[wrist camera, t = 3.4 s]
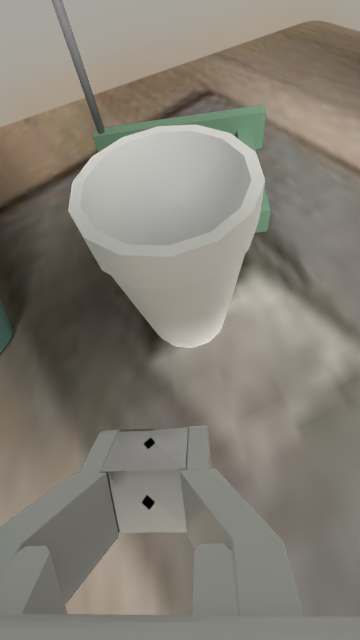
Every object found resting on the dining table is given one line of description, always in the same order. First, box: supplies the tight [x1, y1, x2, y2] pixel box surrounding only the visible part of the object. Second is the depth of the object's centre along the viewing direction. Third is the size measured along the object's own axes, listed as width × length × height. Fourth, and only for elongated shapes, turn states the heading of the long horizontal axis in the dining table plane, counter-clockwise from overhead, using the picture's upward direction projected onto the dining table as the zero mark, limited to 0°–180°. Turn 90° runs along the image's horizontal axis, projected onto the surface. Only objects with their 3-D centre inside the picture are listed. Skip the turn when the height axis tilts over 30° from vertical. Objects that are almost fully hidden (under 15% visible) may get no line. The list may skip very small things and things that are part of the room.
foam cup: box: [68, 125, 265, 348], centre depth 20 cm, size 10×9×13 cm
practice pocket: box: [52, 0, 271, 233], centre depth 25 cm, size 14×19×18 cm
